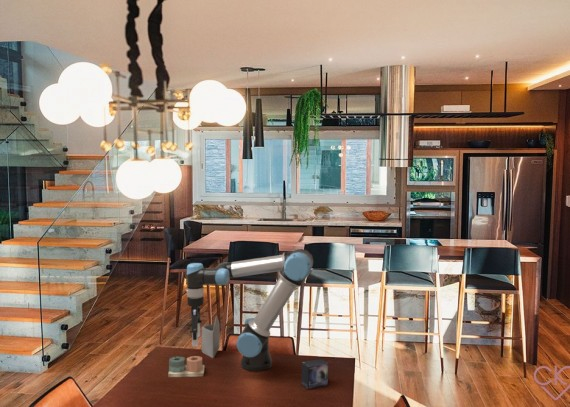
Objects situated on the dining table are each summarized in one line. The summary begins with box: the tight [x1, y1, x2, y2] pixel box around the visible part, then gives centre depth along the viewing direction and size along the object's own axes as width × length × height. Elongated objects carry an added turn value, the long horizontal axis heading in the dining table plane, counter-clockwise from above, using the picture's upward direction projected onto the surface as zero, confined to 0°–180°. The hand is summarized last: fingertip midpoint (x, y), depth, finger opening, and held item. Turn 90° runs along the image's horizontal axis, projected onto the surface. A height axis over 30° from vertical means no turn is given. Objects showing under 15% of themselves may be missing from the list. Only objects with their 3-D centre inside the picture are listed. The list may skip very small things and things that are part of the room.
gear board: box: [167, 356, 206, 378], centre depth 245 cm, size 16×10×6 cm, turn 95°
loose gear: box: [186, 355, 203, 372], centre depth 245 cm, size 7×7×5 cm
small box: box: [300, 358, 329, 390], centre depth 232 cm, size 11×6×10 cm, turn 118°
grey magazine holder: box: [201, 315, 221, 359], centre depth 272 cm, size 16×8×19 cm, turn 177°
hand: (196, 341), depth 245 cm, fingers open, 13 cm apart
